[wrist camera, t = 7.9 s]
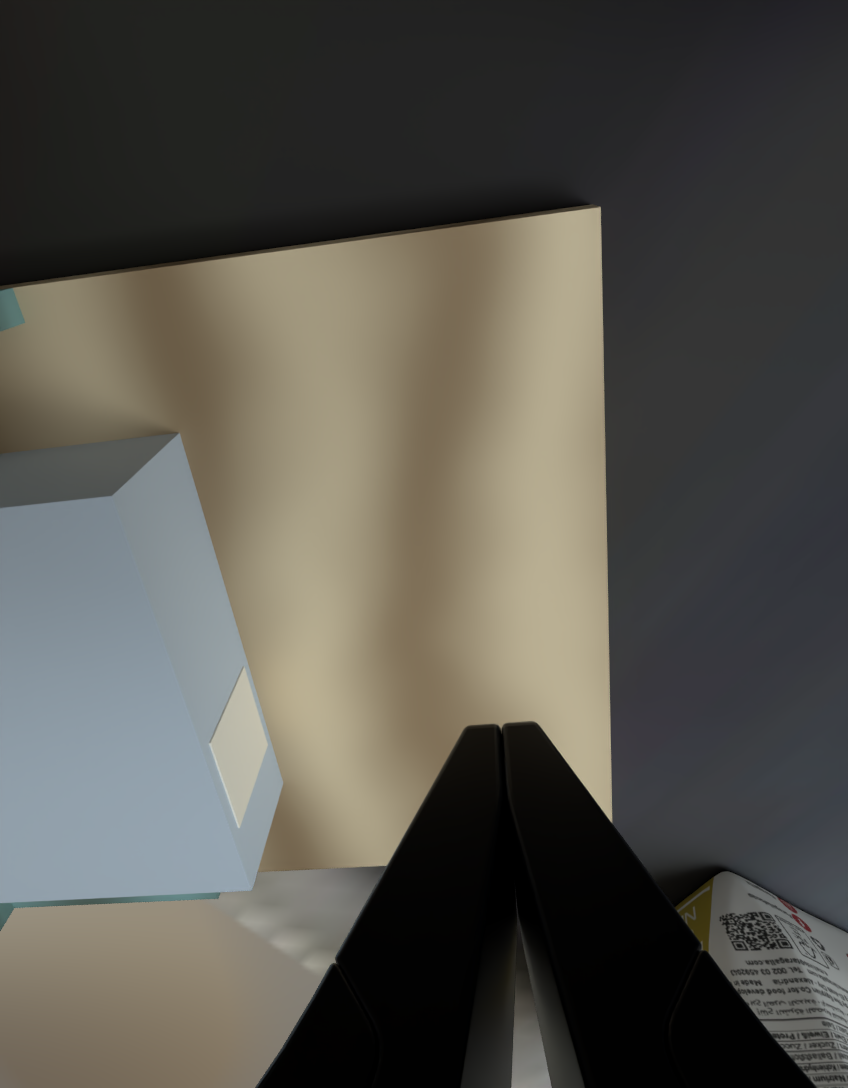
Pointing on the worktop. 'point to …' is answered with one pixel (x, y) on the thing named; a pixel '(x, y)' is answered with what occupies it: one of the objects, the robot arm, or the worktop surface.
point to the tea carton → (122, 684)
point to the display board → (366, 490)
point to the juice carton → (779, 969)
